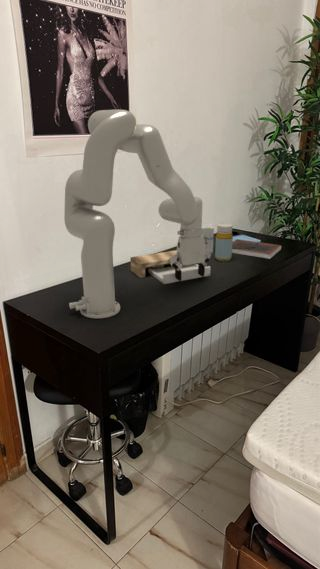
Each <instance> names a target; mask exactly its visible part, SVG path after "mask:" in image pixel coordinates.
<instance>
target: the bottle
mask: <svg viewBox="0 0 320 569" xmlns="http://www.w3.org/2000/svg"><path fill="white" fill-rule="evenodd" d="M216 227H217V228H216V230H217V231H216V235H215V245H214V246H215V248H214V258H215V260H216V261H218V262H229V261H230V260H231V259H232V256H233V255H232V254H233V253H232V241H233V237H234V236H233V224H231V223H224V222H223V223H218V224H217V226H216Z"/></svg>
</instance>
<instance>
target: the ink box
mask: <svg viewBox="0 0 320 569" xmlns="http://www.w3.org/2000/svg"><path fill="white" fill-rule="evenodd" d="M214 230H215V227H214V226H213V224H212V223H202V233H201V235H203V237H204V242H205V251H207V252H210V253H211V254H213V253H214V234H215V233H214V232H215V231H214Z"/></svg>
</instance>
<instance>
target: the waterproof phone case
mask: <svg viewBox="0 0 320 569" xmlns="http://www.w3.org/2000/svg"><path fill="white" fill-rule="evenodd" d="M237 239H240V240H247V241H254V242H261V243H262V241H261V239H258V238H254V237H251V236H248V235H245V234H239V235H234V236H233V241H235V240H237ZM233 241H232V242H233Z"/></svg>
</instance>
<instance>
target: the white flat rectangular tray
mask: <svg viewBox="0 0 320 569" xmlns="http://www.w3.org/2000/svg"><path fill="white" fill-rule="evenodd" d="M198 265H199V264H193V265H186V266H184V265H183V266H182V268H181V269H180V270H181V281H179V280H177V279H176V277H175V268H174V267H172V266H167V267H164V268H160V269H154V270H152V269H151V268H148V269H147V273H148V274H150V275H151V276H152V277H153V278H155V279H156V280H158V281H159V282H161V283H162V284H163V285H166V284H174V283H177V282H183V281H188V280H193V279H198V278H203V277H204V278H205V277H209V276H211V266H210V265H207V266H205V273H204V276H203V277H202V276H201V275H199V274H198Z"/></svg>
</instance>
